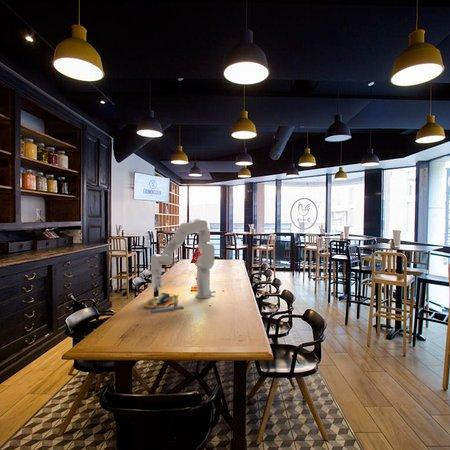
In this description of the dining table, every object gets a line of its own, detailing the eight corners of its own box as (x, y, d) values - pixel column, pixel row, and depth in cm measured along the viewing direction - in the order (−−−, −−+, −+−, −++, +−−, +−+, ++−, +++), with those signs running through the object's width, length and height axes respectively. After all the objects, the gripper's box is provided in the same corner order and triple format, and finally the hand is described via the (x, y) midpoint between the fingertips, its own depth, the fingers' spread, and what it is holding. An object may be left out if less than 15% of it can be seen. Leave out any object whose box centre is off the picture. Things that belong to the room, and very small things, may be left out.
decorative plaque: (154, 288, 236) (180, 288, 234) (154, 297, 236) (180, 298, 234) (139, 298, 205) (169, 299, 204) (139, 309, 206) (169, 310, 204)
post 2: (177, 306, 211) (177, 294, 211) (179, 308, 208) (179, 295, 208) (172, 307, 210) (172, 294, 209) (174, 308, 206) (174, 296, 206)
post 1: (157, 309, 205) (157, 296, 204) (158, 311, 201) (158, 297, 201) (151, 310, 203) (151, 297, 203) (153, 311, 200) (153, 298, 199)
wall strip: (182, 307, 210) (182, 305, 210) (183, 308, 207) (183, 306, 207) (149, 312, 199) (149, 309, 199) (150, 313, 197) (150, 311, 197)
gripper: (164, 272, 219) (164, 298, 220) (158, 269, 233) (158, 293, 233) (153, 273, 216) (153, 299, 216) (148, 270, 229) (148, 295, 230)
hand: (156, 296), depth 225 cm, fingers closed
